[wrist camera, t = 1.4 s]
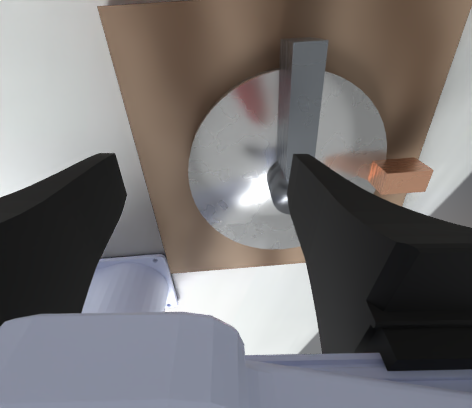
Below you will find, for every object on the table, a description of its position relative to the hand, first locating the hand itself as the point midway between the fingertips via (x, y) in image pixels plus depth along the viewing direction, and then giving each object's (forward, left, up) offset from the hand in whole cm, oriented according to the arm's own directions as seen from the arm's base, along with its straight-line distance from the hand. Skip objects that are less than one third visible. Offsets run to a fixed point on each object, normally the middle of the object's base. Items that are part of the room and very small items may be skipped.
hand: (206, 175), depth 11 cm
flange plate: (+6, -3, -8) cm, 10 cm away
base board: (+5, -4, -10) cm, 12 cm away
